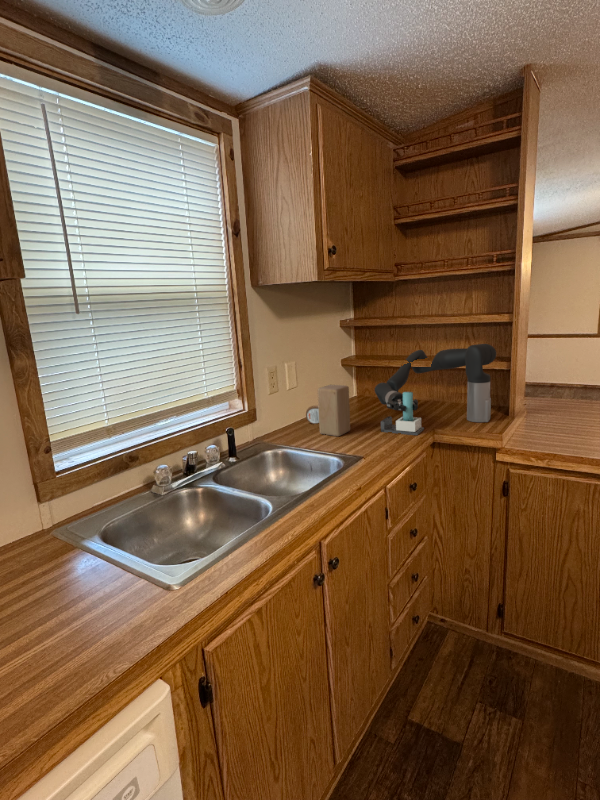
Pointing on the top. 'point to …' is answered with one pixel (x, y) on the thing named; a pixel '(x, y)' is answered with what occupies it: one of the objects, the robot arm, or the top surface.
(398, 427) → the socket block
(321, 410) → the wooden block
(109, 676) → the top surface
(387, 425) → the grey tray
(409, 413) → the dowel
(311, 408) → the tin
